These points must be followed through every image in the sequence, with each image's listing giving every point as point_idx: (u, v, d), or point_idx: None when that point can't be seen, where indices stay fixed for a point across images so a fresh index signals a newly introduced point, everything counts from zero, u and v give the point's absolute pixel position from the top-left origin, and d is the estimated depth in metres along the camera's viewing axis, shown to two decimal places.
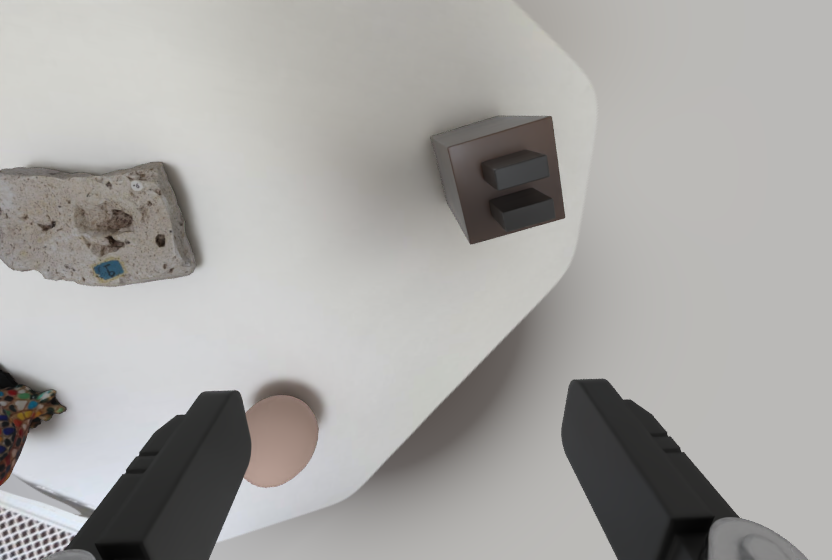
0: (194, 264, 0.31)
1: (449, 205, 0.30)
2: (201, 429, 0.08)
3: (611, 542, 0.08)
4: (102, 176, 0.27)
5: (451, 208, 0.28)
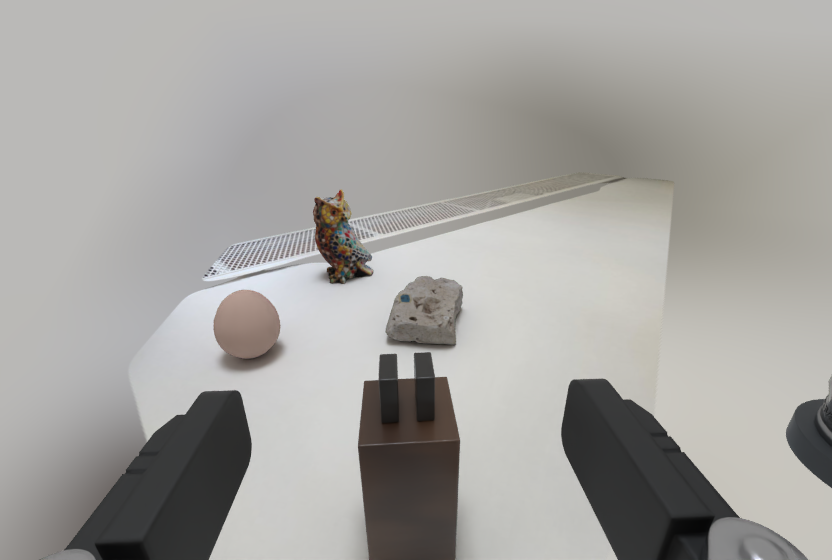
0: (391, 334, 0.48)
1: None
2: (201, 429, 0.08)
3: (612, 542, 0.08)
4: (453, 311, 0.49)
5: None
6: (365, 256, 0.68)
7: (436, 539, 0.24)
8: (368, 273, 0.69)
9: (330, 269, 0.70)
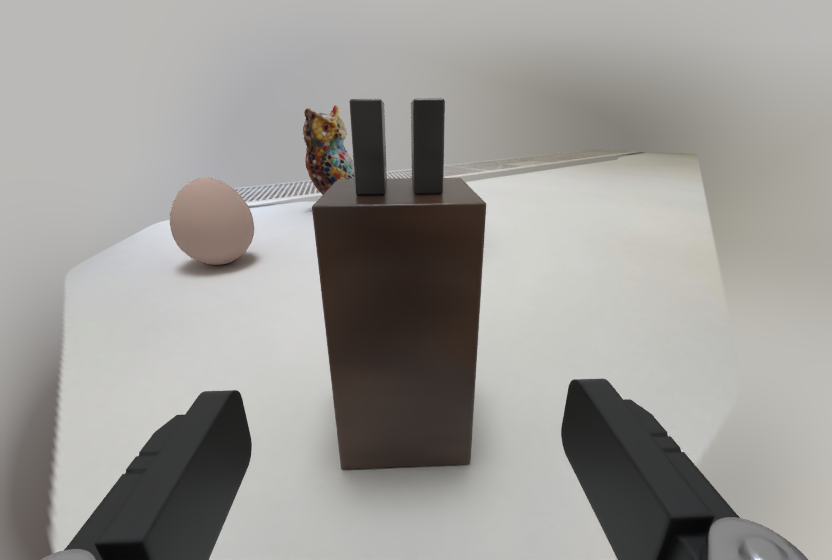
0: None
1: None
2: (201, 429, 0.08)
3: (611, 543, 0.08)
4: None
5: None
6: None
7: (443, 408, 0.15)
8: None
9: None
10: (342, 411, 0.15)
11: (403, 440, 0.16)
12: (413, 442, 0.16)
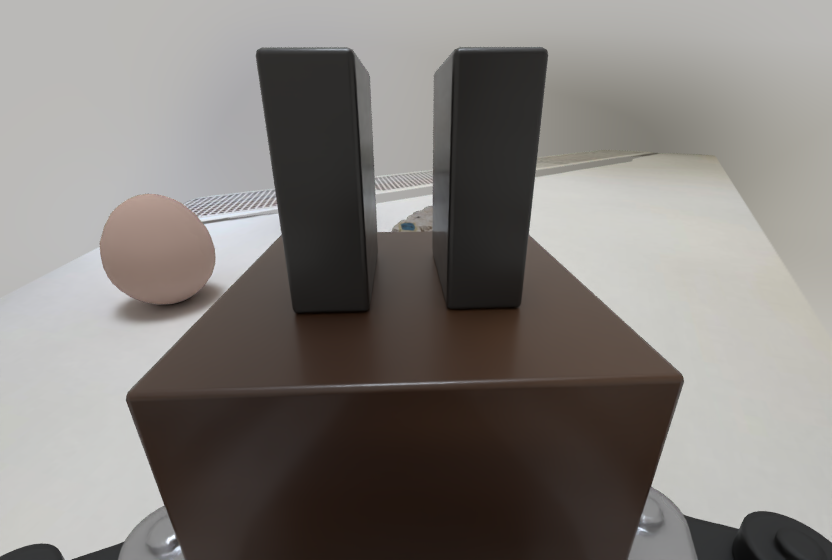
0: None
1: None
2: None
3: None
4: None
5: None
6: None
7: None
8: None
9: None
10: None
11: None
12: None
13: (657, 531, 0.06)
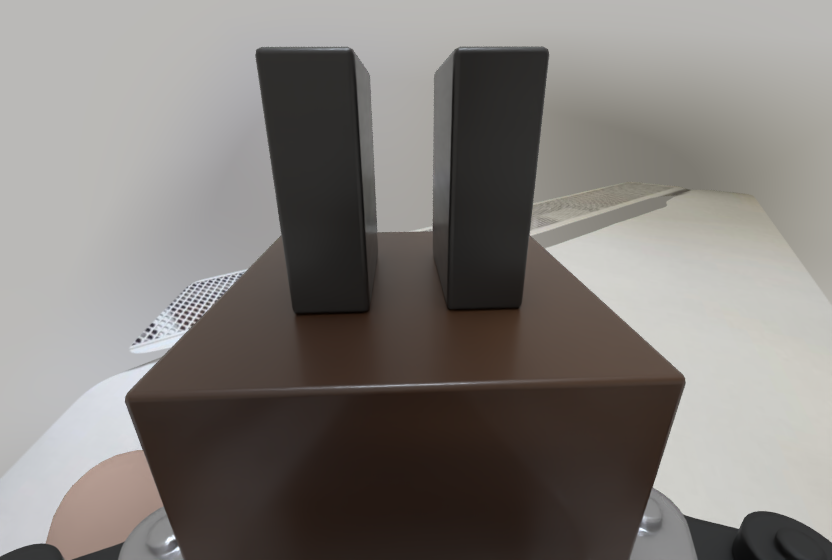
0: None
1: None
2: None
3: None
4: None
5: None
6: None
7: None
8: None
9: None
10: None
11: None
12: None
13: (657, 531, 0.06)
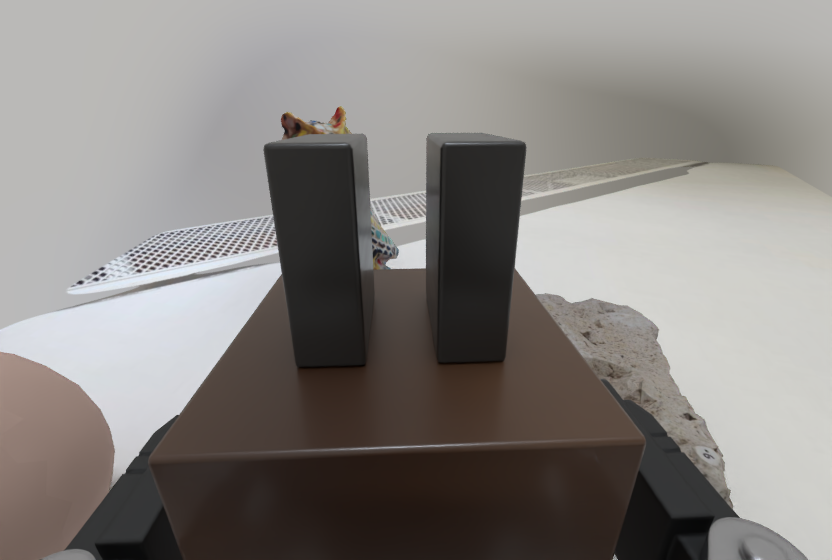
0: None
1: None
2: None
3: None
4: None
5: None
6: (386, 248, 0.34)
7: None
8: None
9: None
10: None
11: None
12: None
13: None
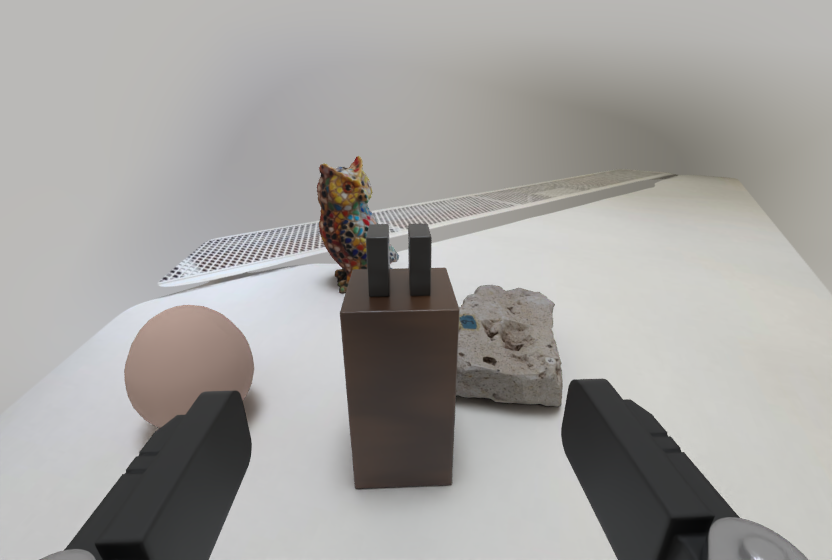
0: None
1: None
2: (201, 429, 0.08)
3: (612, 543, 0.08)
4: None
5: None
6: (390, 254, 0.47)
7: (430, 444, 0.21)
8: None
9: (339, 273, 0.50)
10: (357, 447, 0.21)
11: (401, 467, 0.21)
12: (409, 469, 0.21)
13: None
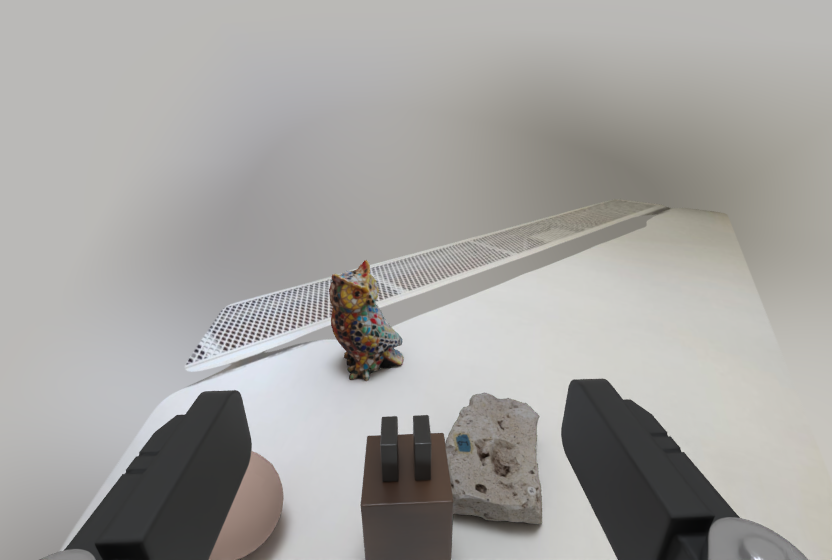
0: None
1: None
2: (201, 429, 0.08)
3: (612, 542, 0.08)
4: (537, 471, 0.33)
5: None
6: (394, 342, 0.52)
7: None
8: (398, 363, 0.53)
9: (349, 355, 0.55)
10: None
11: None
12: None
13: None
